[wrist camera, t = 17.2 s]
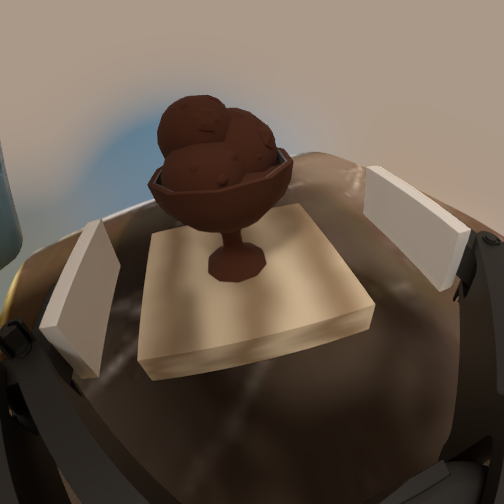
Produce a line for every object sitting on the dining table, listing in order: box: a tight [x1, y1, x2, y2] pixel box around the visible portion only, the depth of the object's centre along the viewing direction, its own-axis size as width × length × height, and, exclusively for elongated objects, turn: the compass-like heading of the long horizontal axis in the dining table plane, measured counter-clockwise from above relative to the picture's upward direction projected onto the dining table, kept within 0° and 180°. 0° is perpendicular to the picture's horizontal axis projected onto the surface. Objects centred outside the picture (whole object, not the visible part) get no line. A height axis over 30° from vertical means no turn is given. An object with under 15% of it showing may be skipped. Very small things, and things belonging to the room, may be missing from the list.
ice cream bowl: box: [148, 95, 293, 283], centre depth 22 cm, size 11×11×15 cm
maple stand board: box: [137, 203, 375, 381], centre depth 28 cm, size 18×18×3 cm
